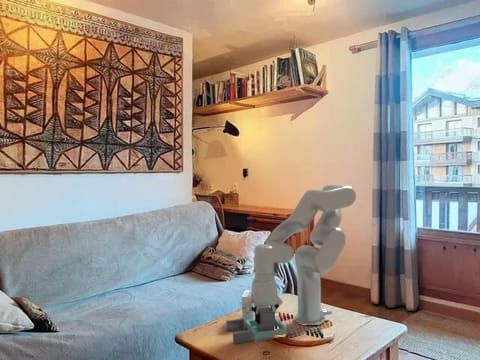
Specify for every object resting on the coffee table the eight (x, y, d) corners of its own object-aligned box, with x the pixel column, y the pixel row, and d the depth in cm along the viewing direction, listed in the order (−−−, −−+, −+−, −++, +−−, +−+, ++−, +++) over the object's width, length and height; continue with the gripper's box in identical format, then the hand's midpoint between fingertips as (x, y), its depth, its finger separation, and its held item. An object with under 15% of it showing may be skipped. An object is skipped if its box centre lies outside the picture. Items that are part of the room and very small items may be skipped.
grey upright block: (268, 324, 159) (267, 304, 158) (274, 332, 151) (273, 312, 151) (256, 325, 158) (255, 306, 157) (262, 334, 150) (261, 313, 149)
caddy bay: (243, 328, 159) (243, 318, 158) (251, 341, 147) (251, 331, 146) (226, 330, 157) (226, 320, 157) (233, 344, 145) (233, 333, 145)
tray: (275, 323, 162) (275, 316, 162) (287, 336, 150) (287, 329, 150) (245, 327, 159) (245, 320, 159) (254, 341, 147) (254, 333, 146)
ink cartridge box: (245, 316, 171) (244, 282, 170) (256, 316, 170) (256, 283, 169) (241, 324, 163) (240, 289, 162) (253, 324, 162) (252, 289, 161)
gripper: (281, 272, 159) (281, 316, 160) (240, 275, 155) (241, 320, 156) (288, 277, 152) (288, 323, 153) (245, 281, 148) (246, 328, 148)
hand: (264, 321), depth 154 cm, fingers closed on grey upright block, 5 cm apart
